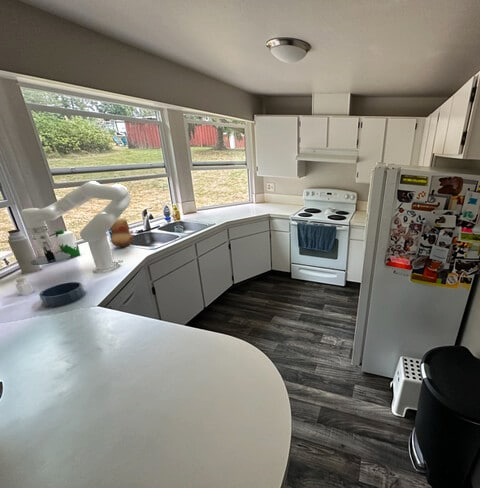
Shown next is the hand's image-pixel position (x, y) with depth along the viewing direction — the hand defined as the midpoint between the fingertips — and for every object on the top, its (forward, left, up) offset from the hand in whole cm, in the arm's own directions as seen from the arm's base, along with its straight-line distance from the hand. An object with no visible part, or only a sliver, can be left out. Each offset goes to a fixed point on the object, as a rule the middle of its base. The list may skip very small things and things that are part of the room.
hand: (50, 258), depth 151 cm
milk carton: (-14, -35, -13) cm, 40 cm away
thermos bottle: (+8, -21, -13) cm, 26 cm away
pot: (+3, +37, -13) cm, 39 cm away
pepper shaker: (+14, +14, -13) cm, 24 cm away
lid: (0, 0, -1) cm, 1 cm away
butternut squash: (-44, -28, -13) cm, 54 cm away
